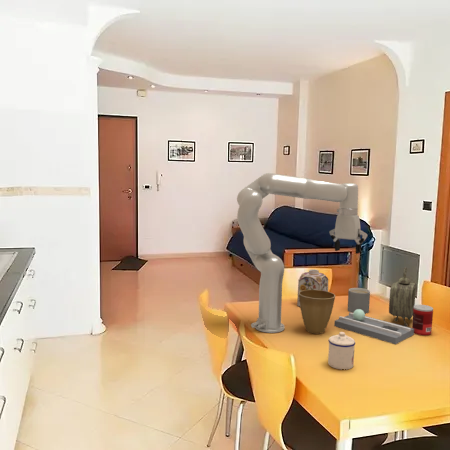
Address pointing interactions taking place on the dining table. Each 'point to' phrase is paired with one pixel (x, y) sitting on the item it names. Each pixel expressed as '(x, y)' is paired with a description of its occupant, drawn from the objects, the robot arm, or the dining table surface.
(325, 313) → the plant pot
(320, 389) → the dining table surface
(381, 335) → the board
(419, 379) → the dining table surface
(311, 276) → the decorative jar
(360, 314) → the ball
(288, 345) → the dining table surface
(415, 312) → the canned food
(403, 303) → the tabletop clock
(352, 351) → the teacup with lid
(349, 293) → the coffee mug
